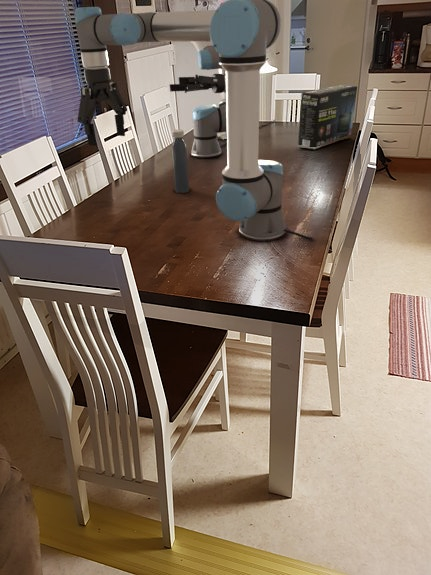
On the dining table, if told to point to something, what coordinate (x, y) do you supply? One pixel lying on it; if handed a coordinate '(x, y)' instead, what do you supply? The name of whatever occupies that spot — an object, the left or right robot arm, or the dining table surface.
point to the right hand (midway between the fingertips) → (107, 140)
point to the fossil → (222, 135)
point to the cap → (177, 133)
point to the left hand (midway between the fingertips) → (174, 84)
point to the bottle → (180, 165)
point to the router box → (326, 115)
